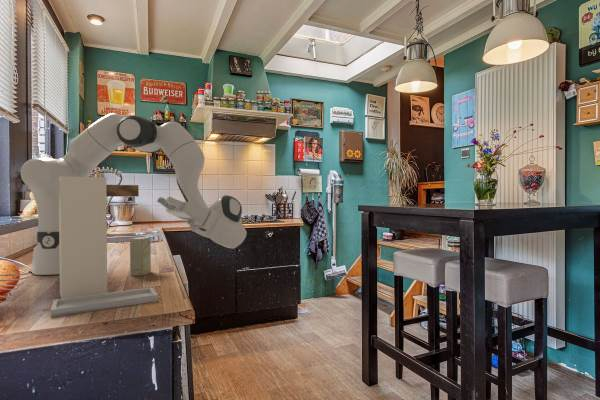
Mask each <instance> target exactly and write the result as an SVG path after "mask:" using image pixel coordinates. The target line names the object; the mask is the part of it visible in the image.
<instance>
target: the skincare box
mask: <svg viewBox="0 0 600 400" xmlns="http://www.w3.org/2000/svg"><path fill="white" fill-rule="evenodd" d="M151 249H152V247H151V237H150V236H141V237H140V236H139V237H138V236H137V237H133V238H129V260H130V261H129V262H130V263H129V266H130V267H129V268H130V269H129V271H130V275H129V276H139V277H140V276H145V275H147V274H150V273H152V265H151V264H152V261H151V260H152V259H151V257H152V255H151V254H152V251H151Z"/></svg>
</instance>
